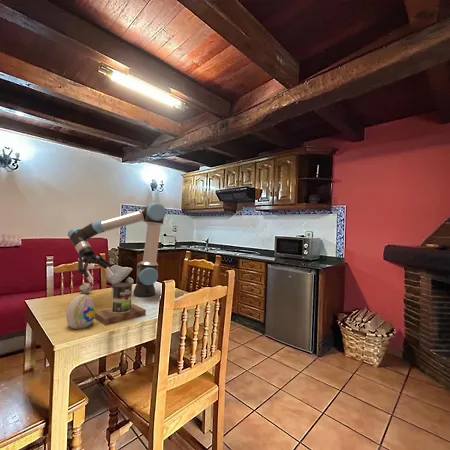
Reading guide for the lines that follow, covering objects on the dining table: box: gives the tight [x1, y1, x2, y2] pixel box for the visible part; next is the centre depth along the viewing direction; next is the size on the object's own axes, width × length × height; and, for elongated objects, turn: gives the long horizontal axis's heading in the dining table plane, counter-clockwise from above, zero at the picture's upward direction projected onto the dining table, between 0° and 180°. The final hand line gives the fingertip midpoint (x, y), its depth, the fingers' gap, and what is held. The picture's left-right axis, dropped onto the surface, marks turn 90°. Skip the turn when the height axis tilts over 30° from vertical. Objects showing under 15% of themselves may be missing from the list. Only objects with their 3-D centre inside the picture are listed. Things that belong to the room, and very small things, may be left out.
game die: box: [77, 281, 93, 295], centre depth 179 cm, size 9×8×10 cm
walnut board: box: [94, 303, 147, 326], centre depth 139 cm, size 22×14×3 cm, turn 138°
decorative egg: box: [65, 293, 96, 330], centre depth 125 cm, size 12×12×15 cm
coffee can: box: [110, 282, 133, 314], centre depth 140 cm, size 10×10×14 cm
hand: (102, 278), depth 147 cm, fingers open, 13 cm apart
